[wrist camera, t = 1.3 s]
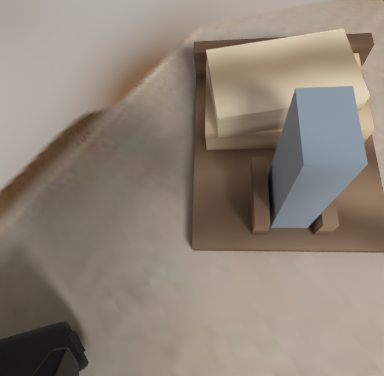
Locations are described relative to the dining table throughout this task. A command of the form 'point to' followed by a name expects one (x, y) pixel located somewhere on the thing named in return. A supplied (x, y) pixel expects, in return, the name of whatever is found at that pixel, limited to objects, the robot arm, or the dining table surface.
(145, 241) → the dining table surface
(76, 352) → the magazine
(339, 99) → the tall board
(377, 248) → the walnut rack
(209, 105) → the offcut stack
